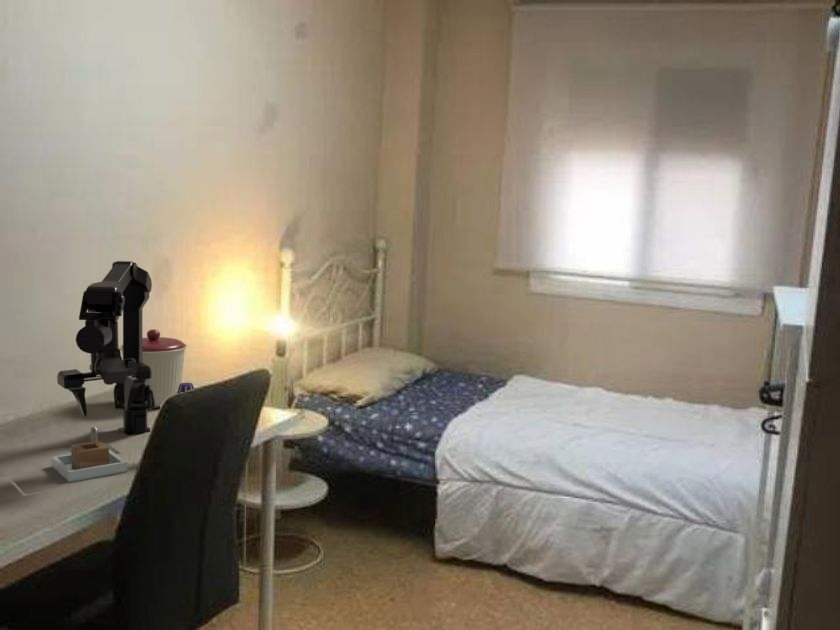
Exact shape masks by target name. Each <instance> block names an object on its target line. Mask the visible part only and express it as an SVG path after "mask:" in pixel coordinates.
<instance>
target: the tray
mask: <svg viewBox="0 0 840 630" xmlns="http://www.w3.org/2000/svg"><path fill="white" fill-rule="evenodd" d="M127 462H128V461H126V460H124V459H123V458H122V457H120V456H119V455H118V454H115V453H113V452H112V451H111V450H109V464H107V465H101V466H95V467H89V468H83V469H77V470H74V469H73V468H72V456H71V453H68V454H63V455H57V456H56V455H54V456H51V467H52V468H53V469H54V470H55V471H56V473H58V474H59V475H60V476H62V477H63V478H64V479H65V480H66V481H67V482H68V483H72V482H78V481H83V480H89V479H95V478H101V477H107V476H111V475H112V476H113V475H118V474H124V473H128V463H127Z"/></svg>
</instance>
